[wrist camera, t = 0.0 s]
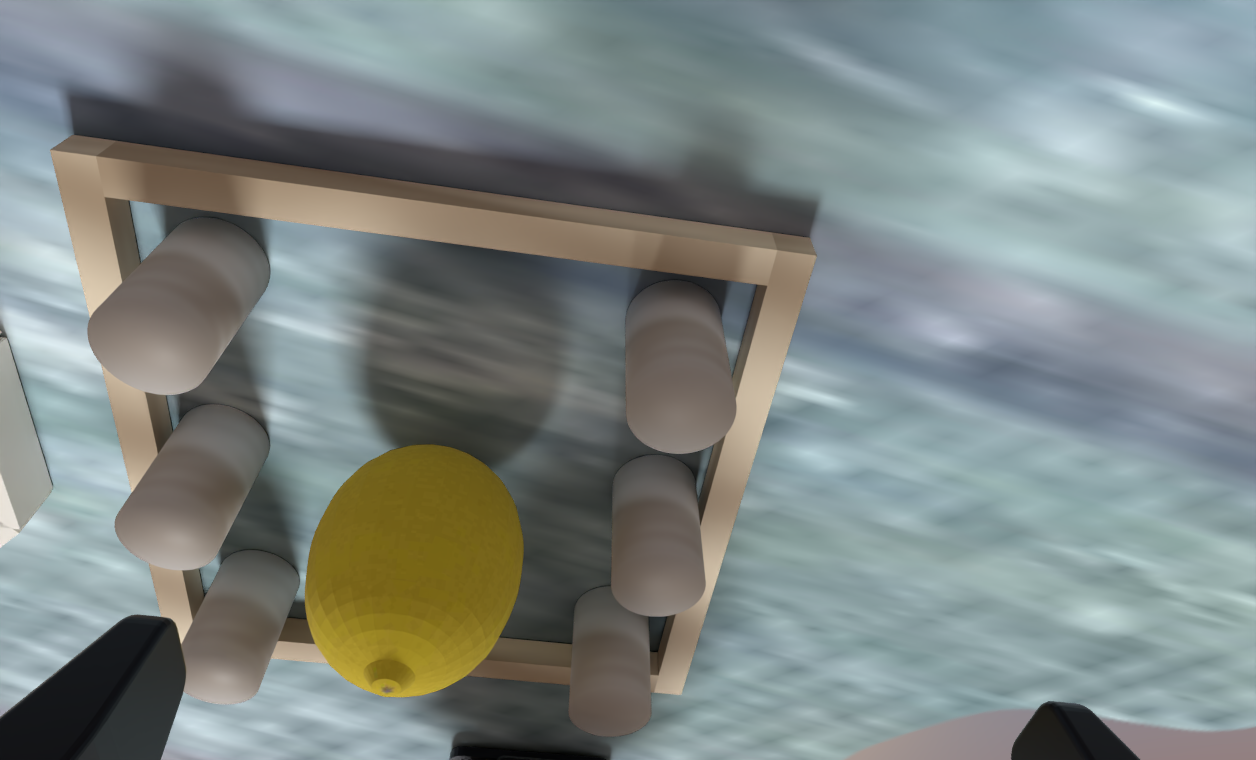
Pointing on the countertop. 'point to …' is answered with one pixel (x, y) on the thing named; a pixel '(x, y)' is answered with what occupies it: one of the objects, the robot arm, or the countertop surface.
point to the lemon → (414, 570)
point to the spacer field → (238, 445)
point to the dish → (18, 454)
